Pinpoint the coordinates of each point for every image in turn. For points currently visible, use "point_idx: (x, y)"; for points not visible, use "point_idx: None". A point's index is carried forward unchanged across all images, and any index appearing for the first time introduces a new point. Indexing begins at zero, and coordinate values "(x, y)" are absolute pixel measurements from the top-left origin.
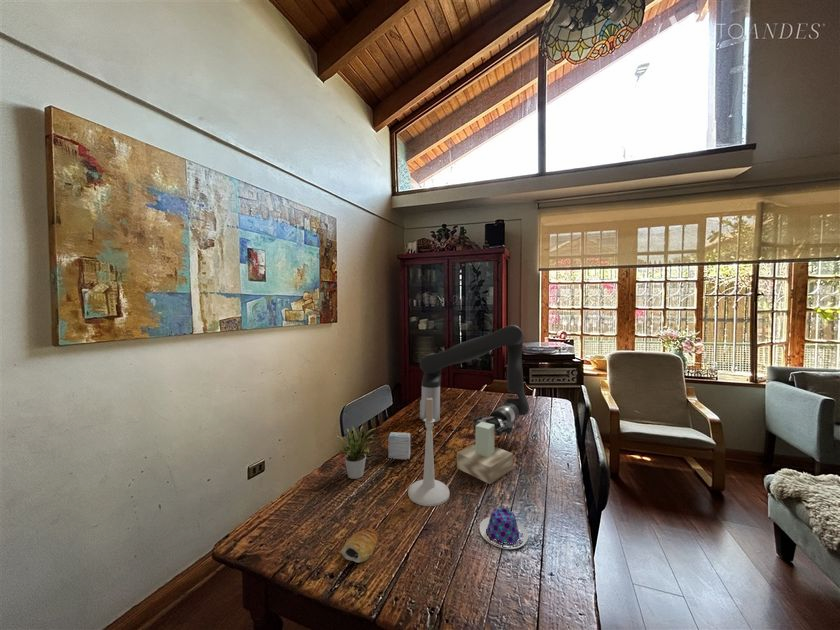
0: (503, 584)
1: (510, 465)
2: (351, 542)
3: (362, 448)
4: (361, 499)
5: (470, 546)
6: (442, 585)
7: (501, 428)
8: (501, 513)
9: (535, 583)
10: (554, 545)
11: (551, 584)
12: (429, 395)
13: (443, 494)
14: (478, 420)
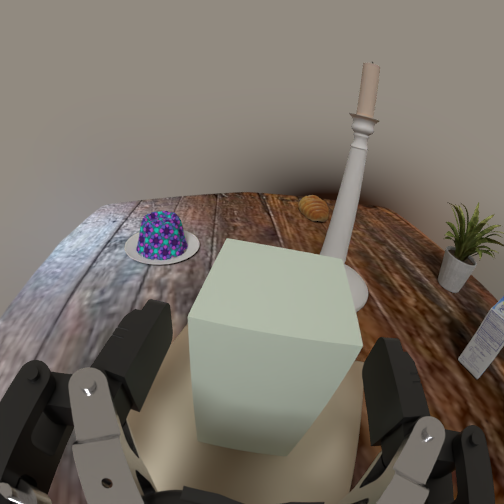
0: (166, 210)
1: None
2: (317, 198)
3: (464, 242)
4: (386, 252)
5: (206, 227)
6: (222, 204)
7: (113, 367)
8: (163, 222)
9: (134, 214)
10: (92, 244)
11: (118, 215)
12: None
13: None
14: (431, 425)
